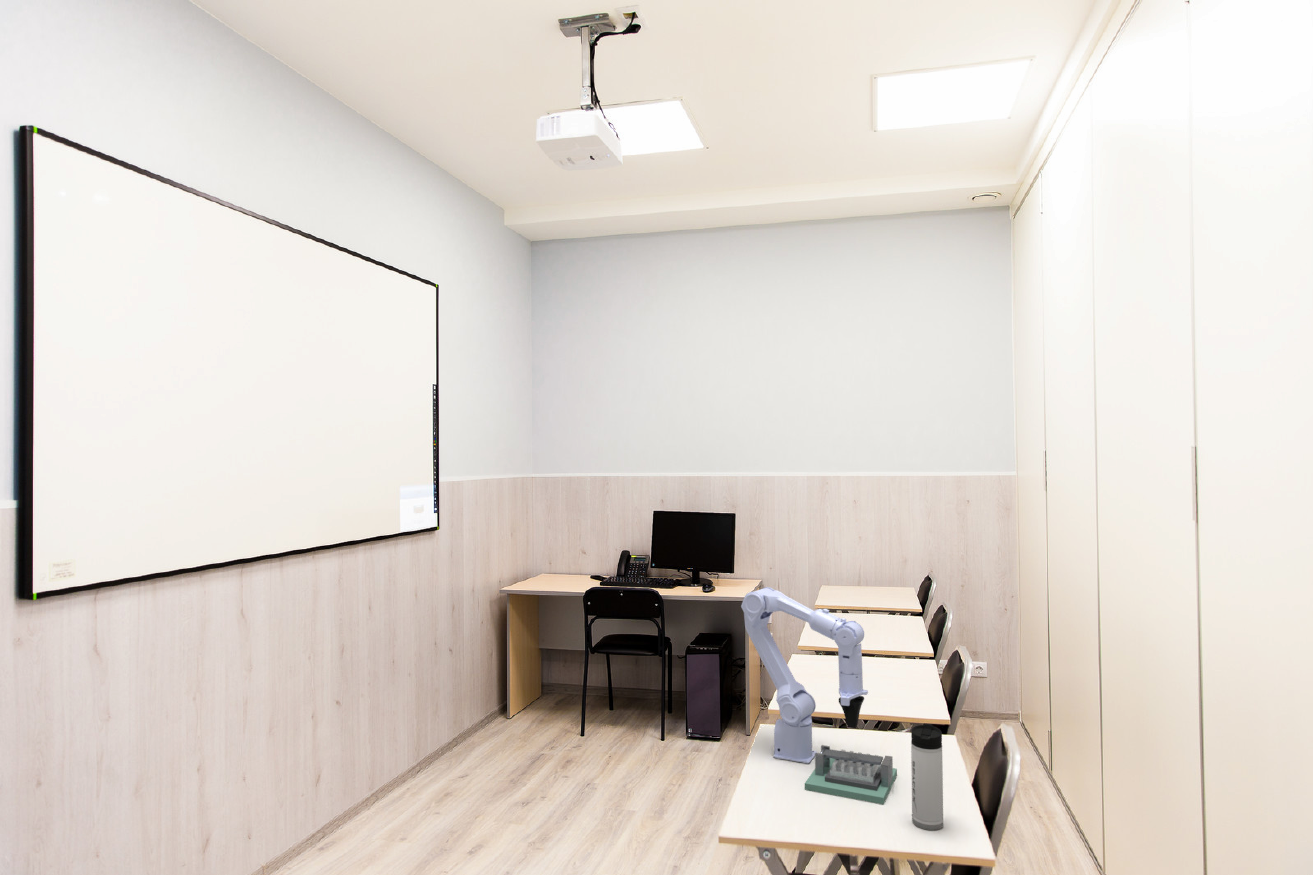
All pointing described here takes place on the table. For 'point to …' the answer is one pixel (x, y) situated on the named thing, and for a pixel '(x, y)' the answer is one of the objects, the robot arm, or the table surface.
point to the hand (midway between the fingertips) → (852, 726)
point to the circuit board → (849, 786)
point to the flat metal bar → (852, 756)
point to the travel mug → (927, 777)
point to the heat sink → (855, 769)
